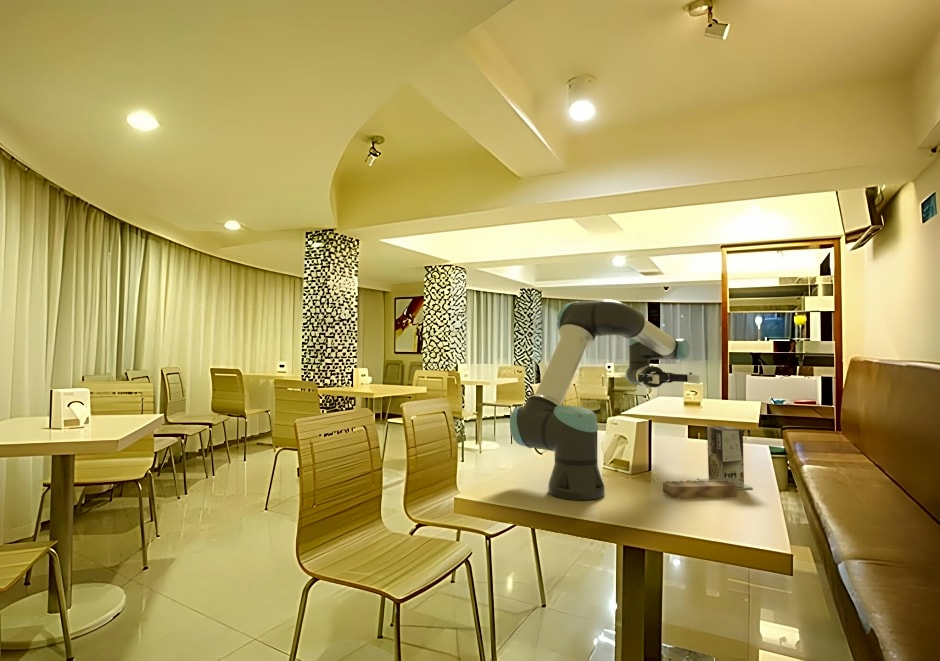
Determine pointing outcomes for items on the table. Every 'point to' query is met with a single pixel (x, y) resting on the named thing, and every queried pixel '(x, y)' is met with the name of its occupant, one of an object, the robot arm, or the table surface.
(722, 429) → the coffee box
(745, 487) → the stub pad
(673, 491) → the perforated block
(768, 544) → the table surface
